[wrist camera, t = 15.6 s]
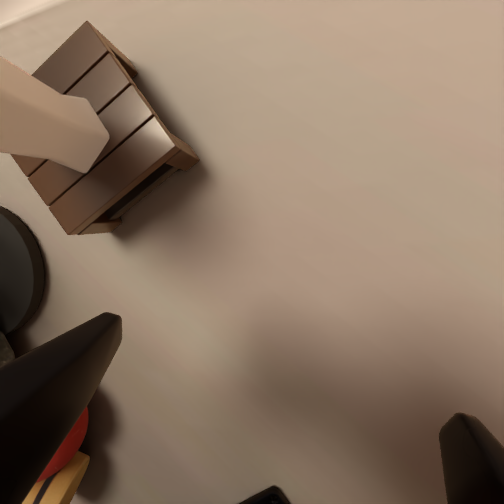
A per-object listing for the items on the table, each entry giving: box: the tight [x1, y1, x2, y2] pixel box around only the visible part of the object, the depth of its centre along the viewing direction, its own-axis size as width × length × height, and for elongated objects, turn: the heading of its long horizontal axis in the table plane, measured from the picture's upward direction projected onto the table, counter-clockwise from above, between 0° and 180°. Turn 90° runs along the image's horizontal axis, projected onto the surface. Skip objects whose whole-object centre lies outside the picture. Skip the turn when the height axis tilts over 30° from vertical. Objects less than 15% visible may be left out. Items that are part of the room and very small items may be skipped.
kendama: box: [22, 406, 90, 504], centre depth 22 cm, size 8×6×18 cm
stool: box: [11, 21, 199, 235], centre depth 19 cm, size 8×8×4 cm
